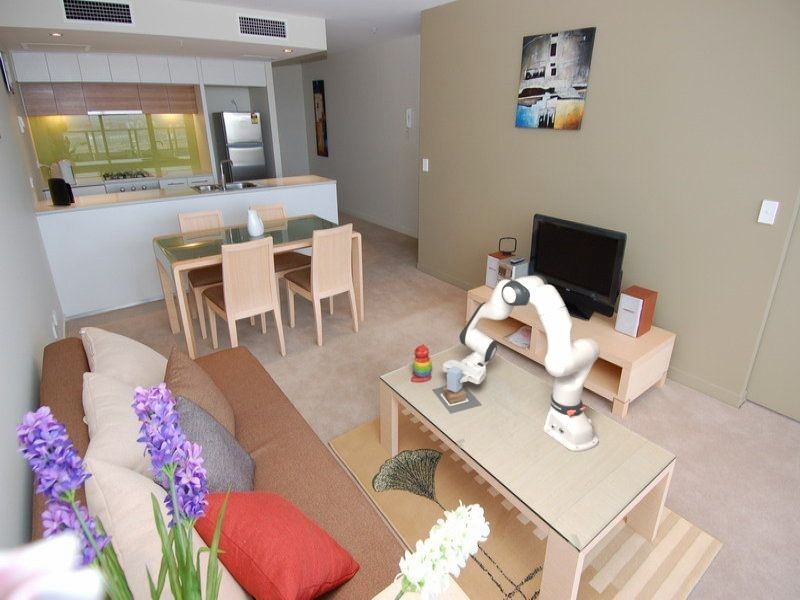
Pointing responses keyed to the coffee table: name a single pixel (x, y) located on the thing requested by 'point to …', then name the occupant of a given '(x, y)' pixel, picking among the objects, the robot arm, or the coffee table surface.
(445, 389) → the base block
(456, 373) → the pillar
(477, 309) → the robot arm
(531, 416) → the coffee table surface
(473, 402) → the build mat
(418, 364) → the stacking bear
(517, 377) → the coffee table surface
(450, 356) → the coffee table surface
